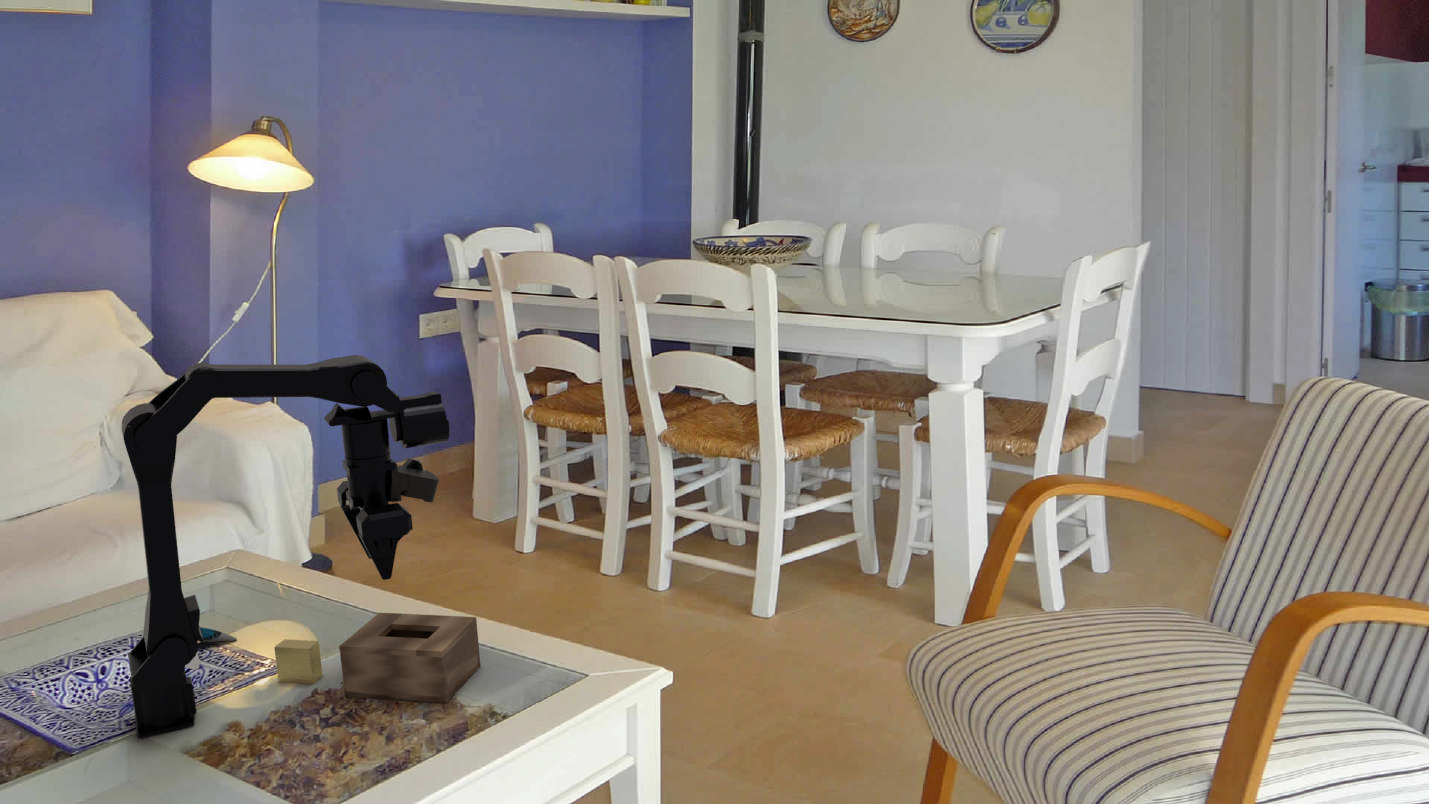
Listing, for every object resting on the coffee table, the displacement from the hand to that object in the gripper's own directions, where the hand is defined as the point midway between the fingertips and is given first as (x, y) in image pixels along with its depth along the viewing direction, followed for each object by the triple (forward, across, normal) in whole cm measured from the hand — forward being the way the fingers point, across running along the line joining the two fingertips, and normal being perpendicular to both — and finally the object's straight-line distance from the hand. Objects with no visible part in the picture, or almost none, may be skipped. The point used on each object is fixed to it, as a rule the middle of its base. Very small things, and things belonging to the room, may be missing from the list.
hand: (379, 568), depth 165 cm
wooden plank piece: (+15, +4, +11) cm, 19 cm away
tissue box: (+14, -5, -2) cm, 16 cm away
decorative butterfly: (+15, +21, +24) cm, 36 cm away
